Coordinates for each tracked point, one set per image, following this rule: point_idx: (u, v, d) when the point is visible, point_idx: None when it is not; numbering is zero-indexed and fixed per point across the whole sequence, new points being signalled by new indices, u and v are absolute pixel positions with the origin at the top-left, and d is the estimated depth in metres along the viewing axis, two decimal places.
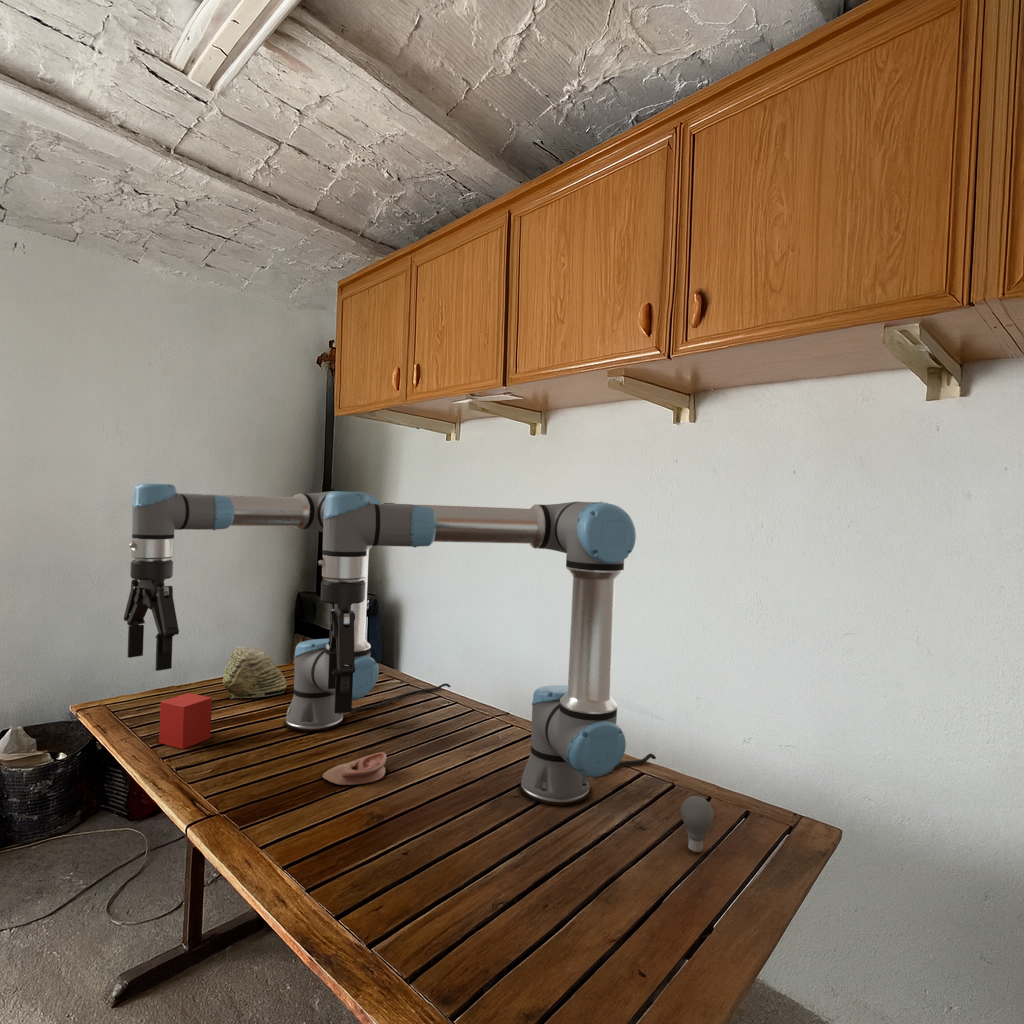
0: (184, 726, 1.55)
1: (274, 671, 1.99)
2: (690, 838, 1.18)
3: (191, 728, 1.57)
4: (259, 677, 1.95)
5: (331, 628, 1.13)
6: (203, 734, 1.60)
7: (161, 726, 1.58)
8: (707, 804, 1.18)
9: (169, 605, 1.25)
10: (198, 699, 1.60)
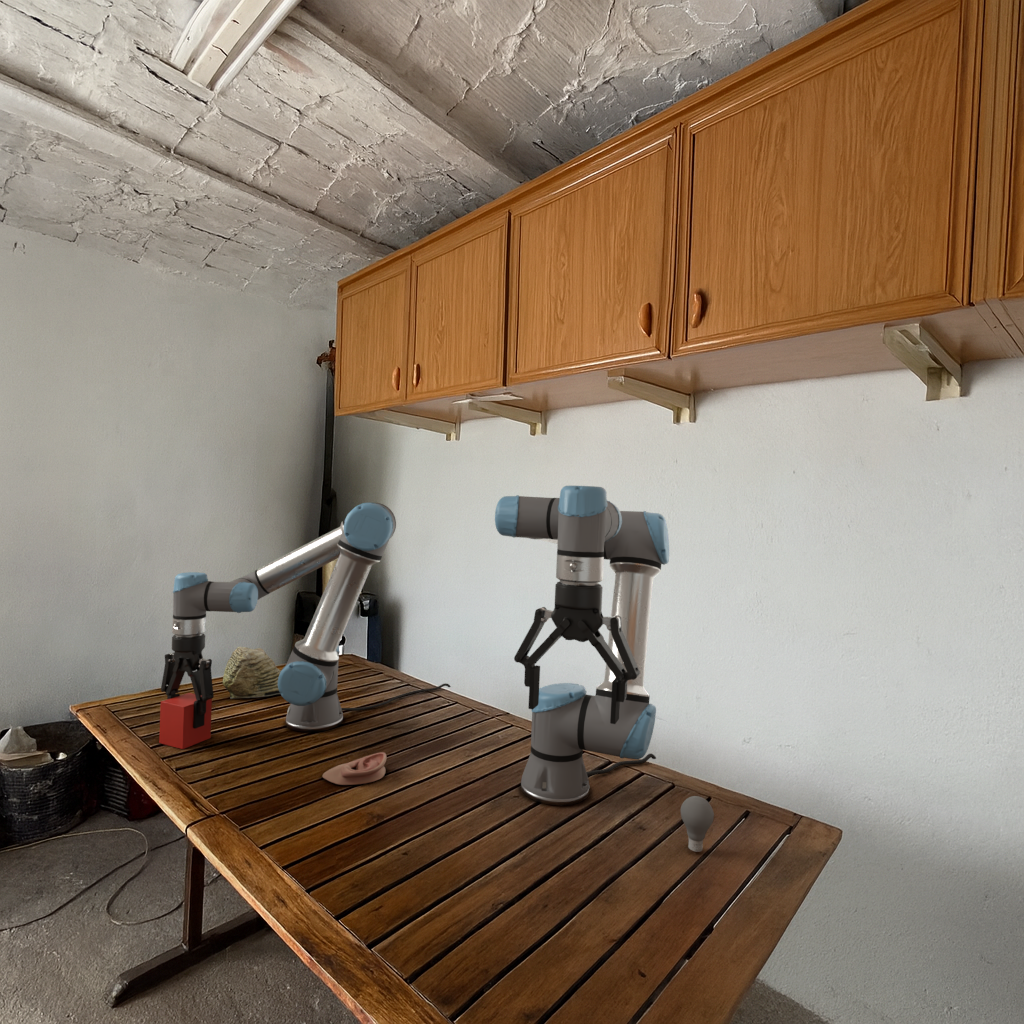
0: (184, 726, 1.55)
1: (274, 671, 1.99)
2: (690, 838, 1.18)
3: (191, 728, 1.57)
4: (259, 677, 1.95)
5: (556, 638, 1.01)
6: (203, 734, 1.60)
7: (161, 726, 1.58)
8: (707, 804, 1.18)
9: (208, 675, 1.58)
10: None
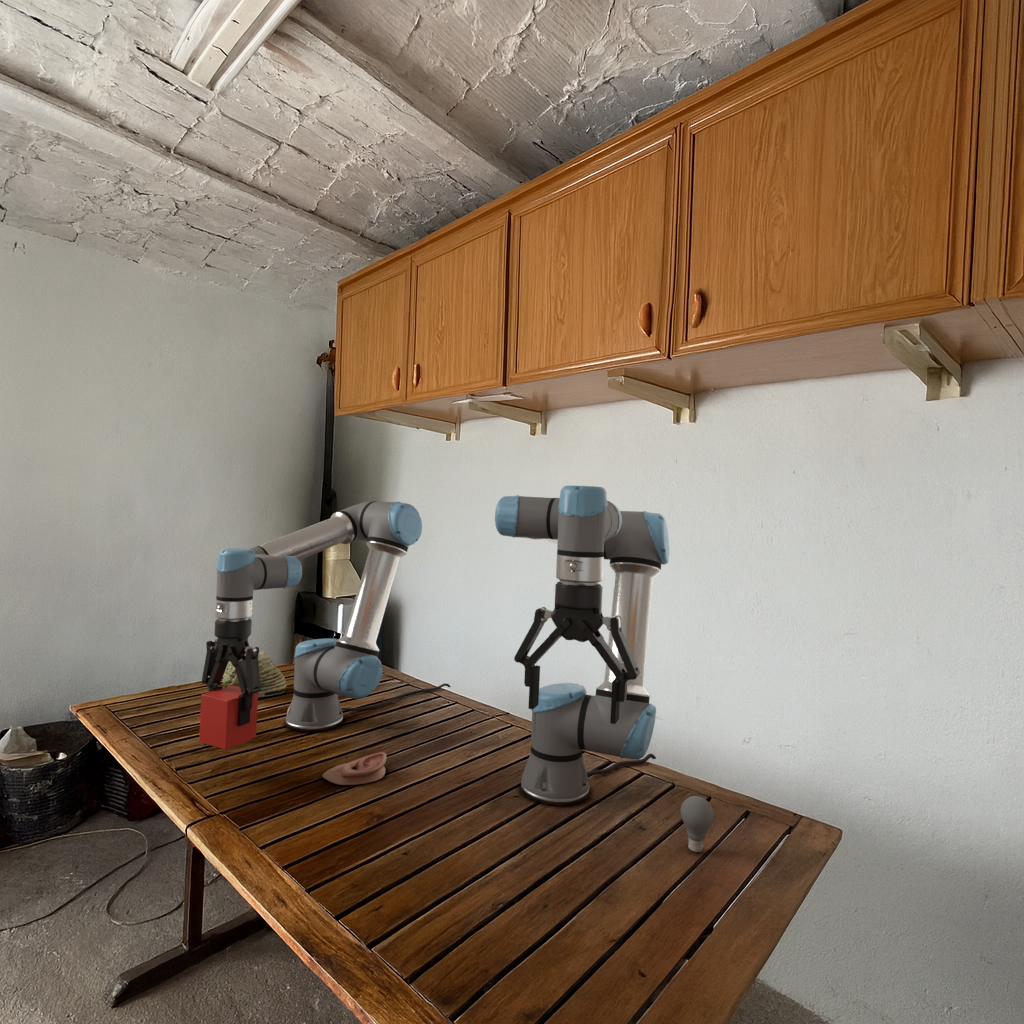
0: (228, 723, 1.36)
1: (274, 671, 1.99)
2: (690, 838, 1.18)
3: (235, 726, 1.37)
4: None
5: (556, 638, 1.01)
6: (248, 732, 1.41)
7: (201, 723, 1.38)
8: (707, 804, 1.18)
9: (255, 665, 1.38)
10: None
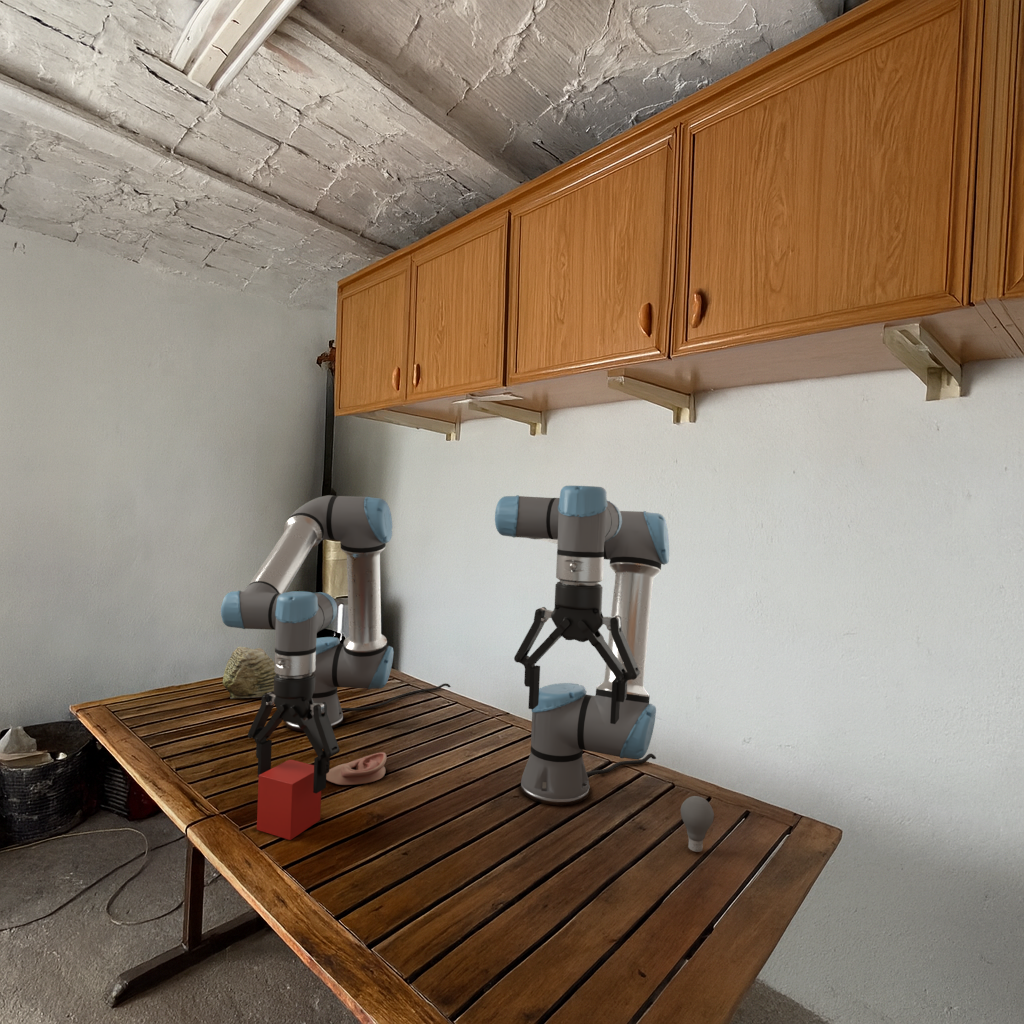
0: (293, 809, 1.17)
1: None
2: (690, 838, 1.18)
3: (300, 811, 1.19)
4: (259, 677, 1.95)
5: (556, 638, 1.01)
6: (313, 816, 1.22)
7: (260, 808, 1.19)
8: (707, 804, 1.18)
9: (326, 723, 1.19)
10: (306, 771, 1.22)
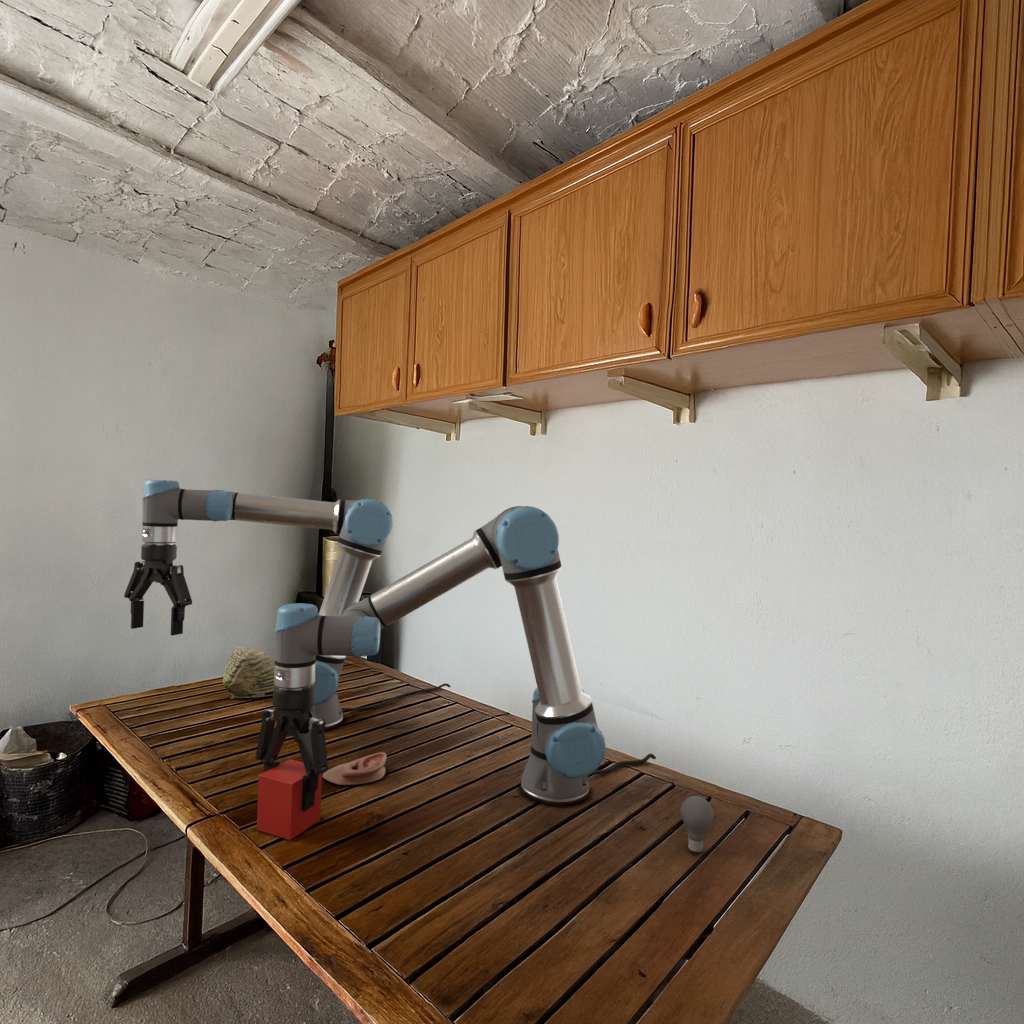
0: (293, 809, 1.17)
1: None
2: (690, 838, 1.18)
3: (300, 811, 1.19)
4: (259, 677, 1.95)
5: (278, 735, 1.21)
6: (313, 816, 1.22)
7: (260, 808, 1.19)
8: (707, 804, 1.18)
9: (182, 581, 1.51)
10: None
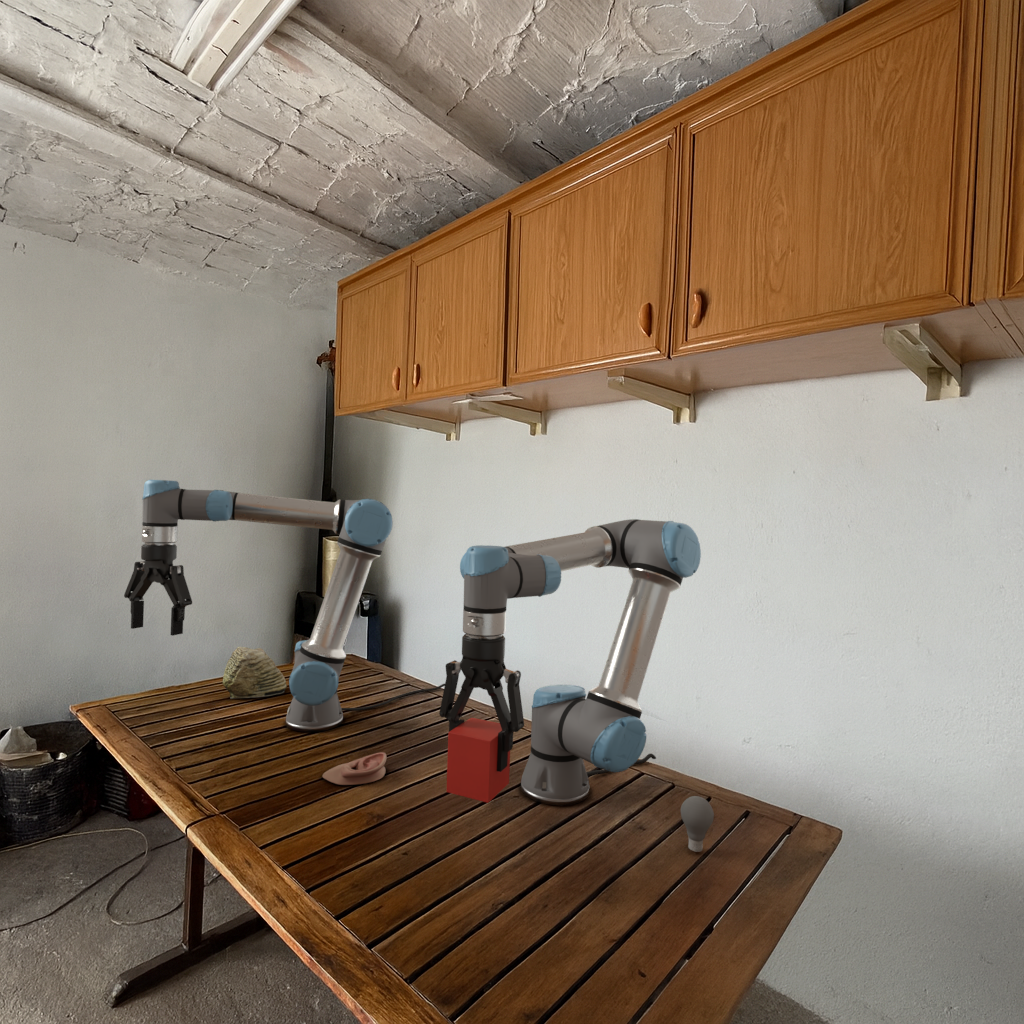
0: (490, 769, 1.06)
1: (274, 671, 1.99)
2: (690, 838, 1.18)
3: (495, 772, 1.08)
4: (259, 677, 1.95)
5: (467, 689, 1.10)
6: (504, 778, 1.11)
7: (450, 768, 1.09)
8: (707, 804, 1.18)
9: (182, 581, 1.51)
10: (497, 728, 1.11)
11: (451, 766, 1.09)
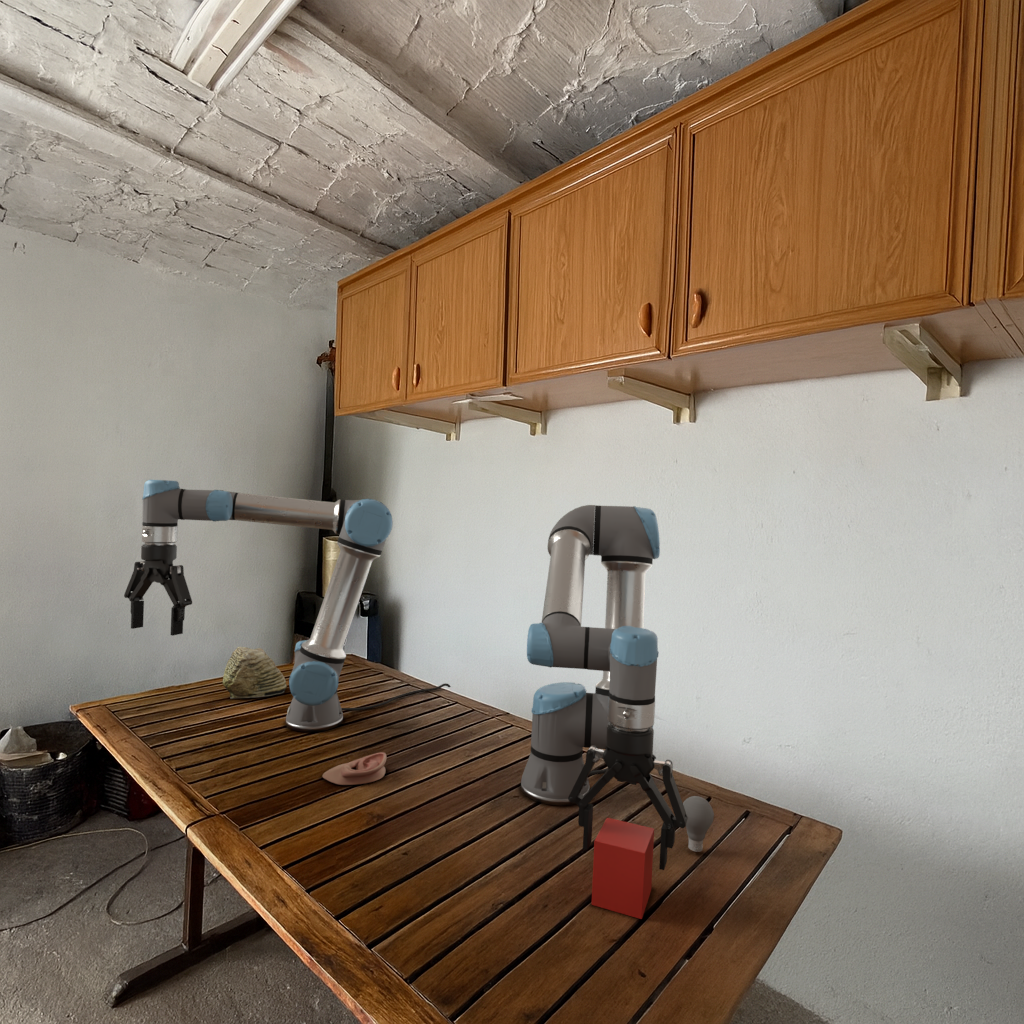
0: (644, 882, 0.99)
1: (274, 671, 1.99)
2: (690, 838, 1.18)
3: (646, 884, 1.01)
4: (259, 677, 1.95)
5: None
6: (649, 887, 1.04)
7: (596, 879, 1.01)
8: (707, 804, 1.18)
9: (182, 581, 1.51)
10: (642, 834, 1.04)
11: (597, 877, 1.01)
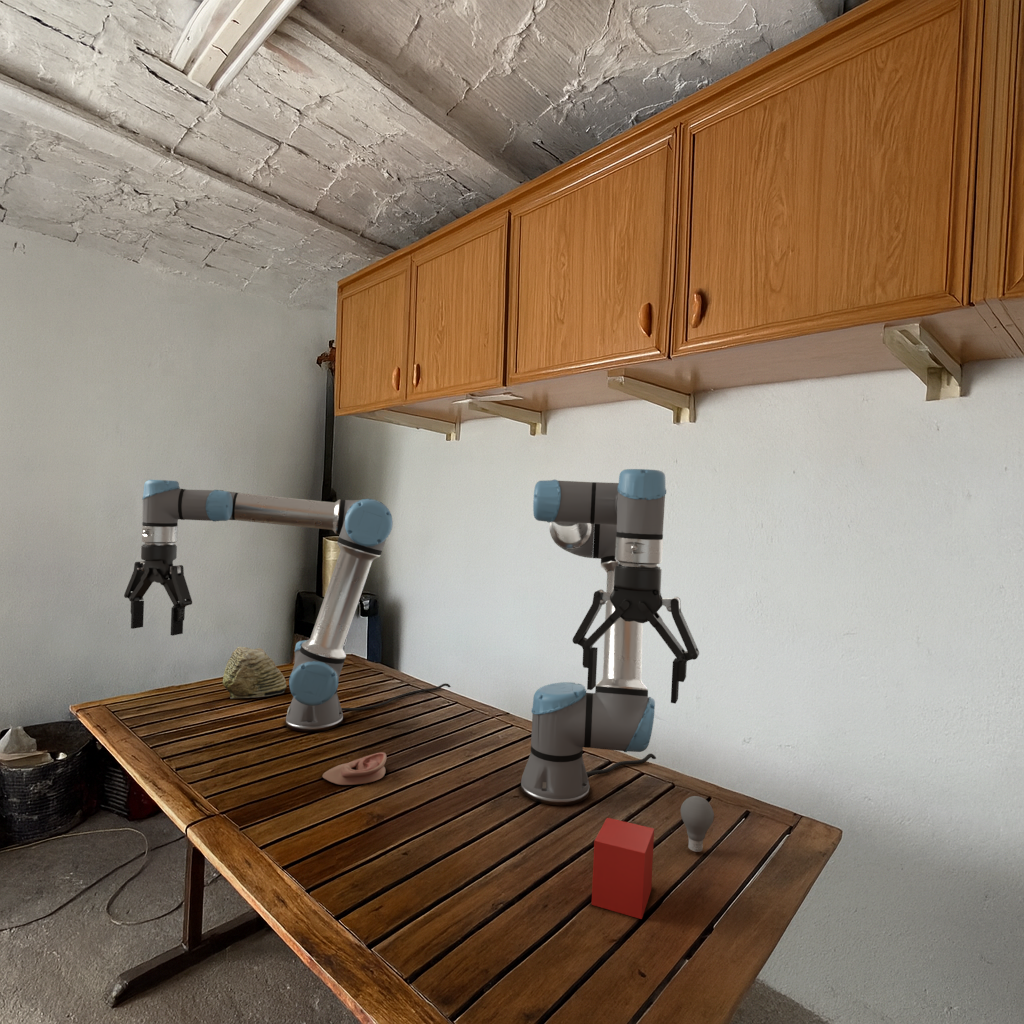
0: (644, 882, 0.99)
1: (274, 671, 1.99)
2: (690, 838, 1.18)
3: (646, 884, 1.01)
4: (259, 677, 1.95)
5: (615, 620, 1.03)
6: (649, 887, 1.04)
7: (596, 879, 1.01)
8: (707, 804, 1.18)
9: (182, 581, 1.51)
10: (642, 834, 1.04)
11: (597, 877, 1.01)
